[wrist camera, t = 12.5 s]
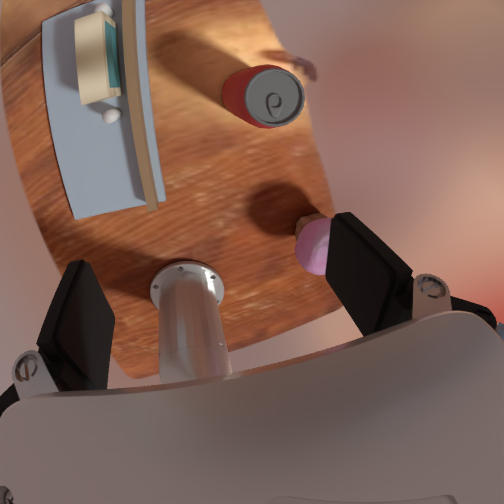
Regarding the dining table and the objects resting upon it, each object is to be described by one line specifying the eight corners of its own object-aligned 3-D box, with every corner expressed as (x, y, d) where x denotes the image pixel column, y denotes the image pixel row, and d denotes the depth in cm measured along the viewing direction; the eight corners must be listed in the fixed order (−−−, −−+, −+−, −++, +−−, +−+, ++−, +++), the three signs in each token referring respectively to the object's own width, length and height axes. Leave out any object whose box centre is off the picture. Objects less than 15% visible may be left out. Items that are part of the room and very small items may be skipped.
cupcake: (326, 245, 48) (353, 281, 40) (279, 250, 46) (301, 290, 38) (335, 199, 43) (368, 230, 35) (284, 201, 41) (311, 234, 33)
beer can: (222, 119, 32) (240, 135, 22) (219, 71, 28) (236, 63, 19) (272, 116, 33) (310, 131, 24) (271, 69, 29) (310, 64, 20)
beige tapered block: (123, 94, 26) (108, 97, 21) (100, 101, 26) (80, 105, 20) (117, 23, 20) (102, 10, 15) (93, 30, 20) (74, 20, 14)
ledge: (166, 197, 36) (164, 211, 33) (77, 216, 34) (67, 232, 30) (144, -11, 19) (140, -22, 15) (45, 22, 17) (30, 18, 13)
